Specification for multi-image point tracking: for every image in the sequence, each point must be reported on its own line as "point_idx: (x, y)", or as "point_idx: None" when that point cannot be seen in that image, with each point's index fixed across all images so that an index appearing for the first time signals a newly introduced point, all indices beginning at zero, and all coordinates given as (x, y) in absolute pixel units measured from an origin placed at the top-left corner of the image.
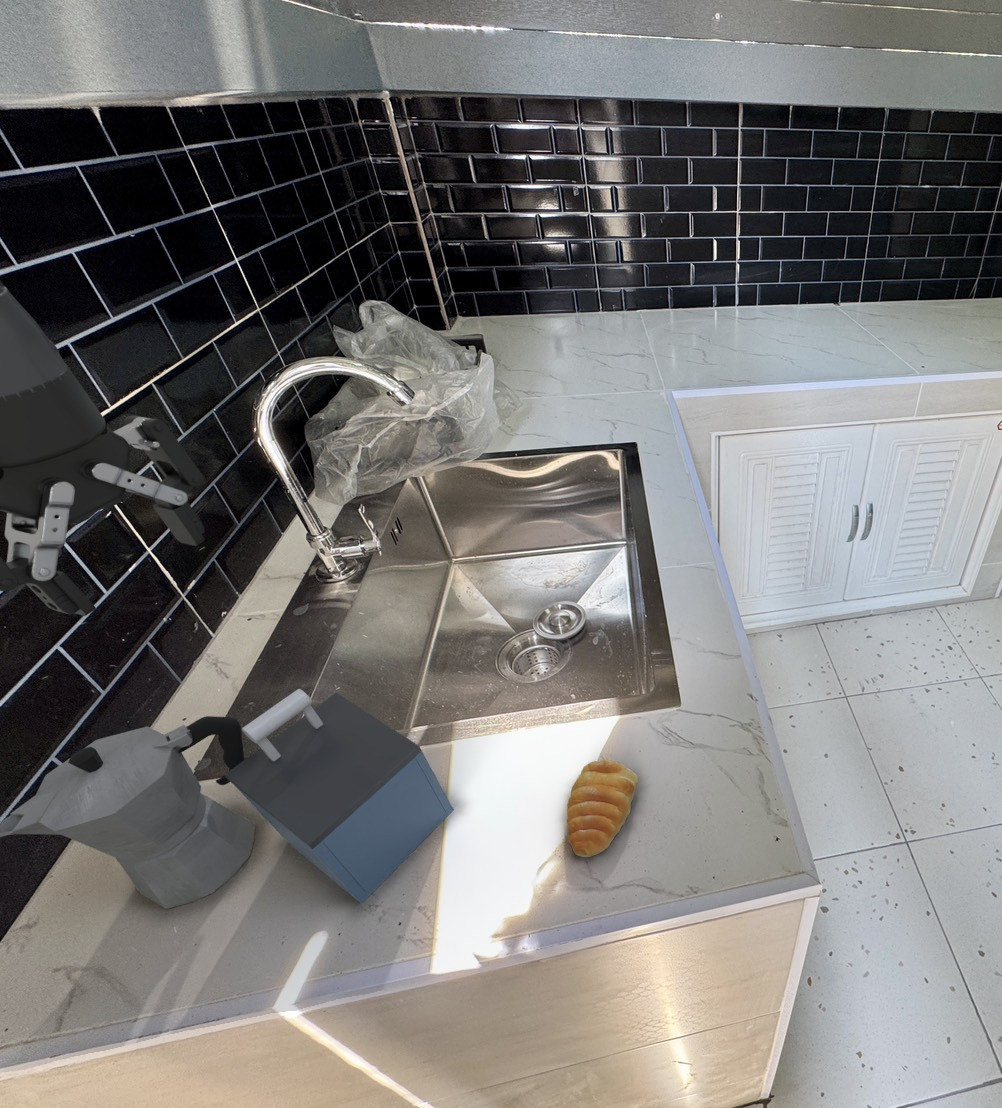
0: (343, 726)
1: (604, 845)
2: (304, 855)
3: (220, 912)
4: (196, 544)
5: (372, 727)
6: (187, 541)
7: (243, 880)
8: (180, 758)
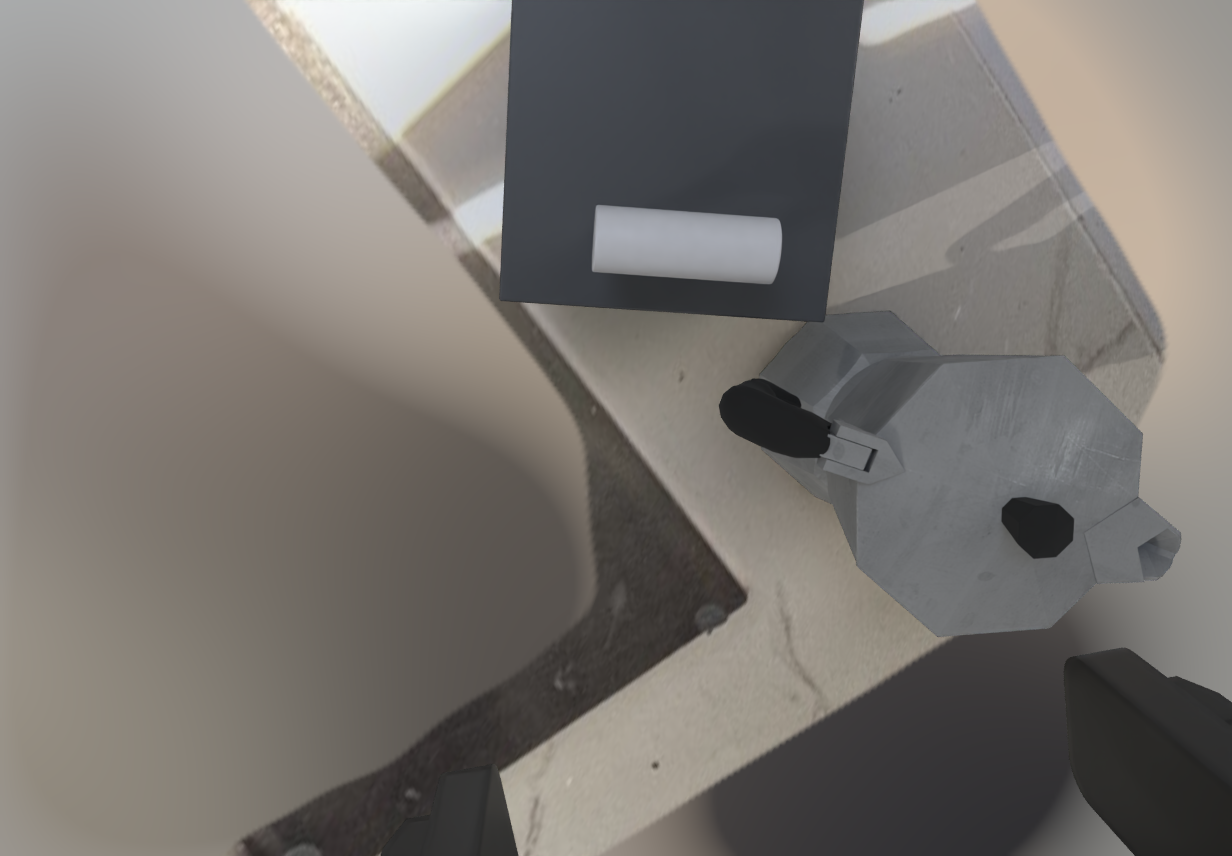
0: (575, 164)
1: None
2: None
3: (906, 265)
4: (494, 765)
5: (537, 77)
6: (506, 828)
7: (846, 285)
8: (861, 428)
